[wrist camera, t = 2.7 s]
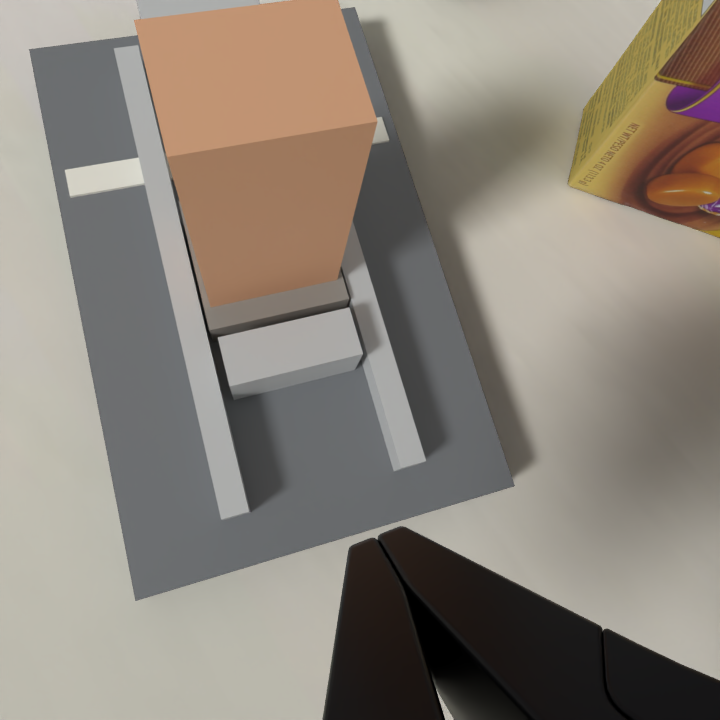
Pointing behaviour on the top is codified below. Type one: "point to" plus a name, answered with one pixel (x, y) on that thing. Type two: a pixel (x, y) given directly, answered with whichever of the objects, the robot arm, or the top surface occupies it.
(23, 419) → the top surface
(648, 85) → the candy box
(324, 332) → the board
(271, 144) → the fader tab
